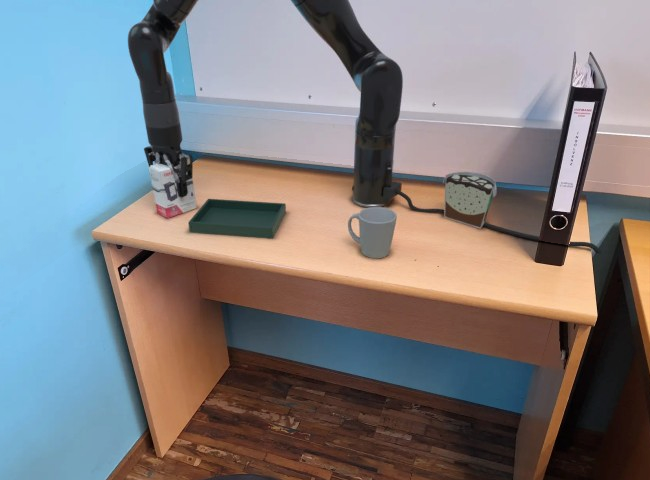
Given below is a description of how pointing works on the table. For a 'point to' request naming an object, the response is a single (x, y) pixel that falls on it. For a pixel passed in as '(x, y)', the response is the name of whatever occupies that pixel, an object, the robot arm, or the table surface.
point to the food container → (468, 197)
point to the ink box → (170, 192)
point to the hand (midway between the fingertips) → (174, 193)
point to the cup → (374, 231)
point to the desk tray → (238, 218)
